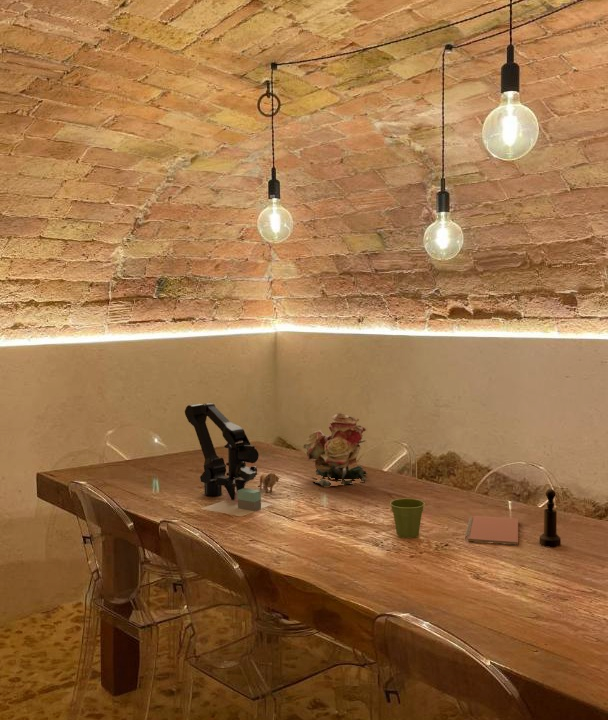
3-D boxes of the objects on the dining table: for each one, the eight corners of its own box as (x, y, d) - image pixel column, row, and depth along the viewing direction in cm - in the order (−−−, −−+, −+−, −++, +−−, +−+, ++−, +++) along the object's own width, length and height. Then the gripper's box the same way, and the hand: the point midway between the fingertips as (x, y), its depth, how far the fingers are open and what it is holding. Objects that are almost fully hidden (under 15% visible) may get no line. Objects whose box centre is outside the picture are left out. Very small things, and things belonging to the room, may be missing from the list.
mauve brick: (225, 499, 303) (225, 491, 303) (231, 497, 306) (231, 489, 306) (241, 502, 299) (241, 493, 298) (247, 500, 302) (247, 491, 302)
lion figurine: (281, 494, 313) (280, 472, 313) (270, 496, 310) (269, 474, 310) (262, 487, 326) (262, 466, 325) (252, 489, 323) (251, 468, 322)
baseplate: (200, 510, 291) (200, 499, 290) (233, 498, 307) (233, 488, 307) (241, 518, 280) (241, 507, 279) (273, 505, 296) (273, 495, 296)
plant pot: (393, 529, 264) (392, 497, 263) (427, 531, 260) (427, 499, 260) (386, 539, 253) (386, 506, 252) (422, 542, 249) (422, 508, 248)
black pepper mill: (543, 539, 250) (543, 485, 249) (563, 543, 247) (563, 488, 245) (536, 545, 245) (537, 490, 244) (557, 548, 241) (557, 492, 240)
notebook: (469, 520, 275) (469, 514, 275) (518, 523, 271) (518, 517, 271) (464, 543, 249) (464, 537, 249) (517, 547, 245) (517, 541, 244)
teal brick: (237, 499, 290) (237, 490, 290) (244, 496, 294) (244, 488, 293) (254, 502, 286) (254, 492, 286) (260, 499, 289) (260, 490, 289)
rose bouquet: (301, 475, 347) (300, 410, 344) (364, 473, 350) (364, 408, 348) (308, 489, 321) (307, 418, 319) (376, 486, 324) (376, 416, 322)
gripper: (236, 466, 289) (237, 506, 290) (266, 457, 305) (266, 496, 306) (214, 463, 295) (215, 502, 296) (244, 455, 311) (244, 492, 312)
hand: (236, 498), depth 303 cm, fingers closed on mauve brick, 4 cm apart
